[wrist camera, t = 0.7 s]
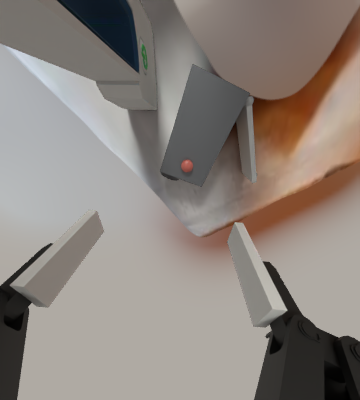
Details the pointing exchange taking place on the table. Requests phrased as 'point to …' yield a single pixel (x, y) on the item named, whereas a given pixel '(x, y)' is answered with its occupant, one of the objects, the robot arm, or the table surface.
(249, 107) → the grey thin flat plate
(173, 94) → the table surface
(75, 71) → the electronic device
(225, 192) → the table surface
